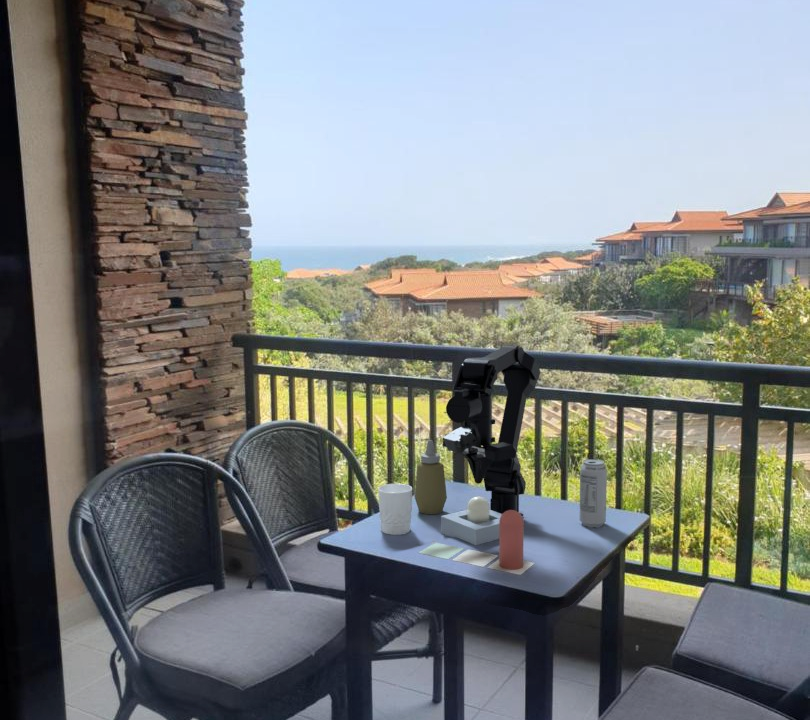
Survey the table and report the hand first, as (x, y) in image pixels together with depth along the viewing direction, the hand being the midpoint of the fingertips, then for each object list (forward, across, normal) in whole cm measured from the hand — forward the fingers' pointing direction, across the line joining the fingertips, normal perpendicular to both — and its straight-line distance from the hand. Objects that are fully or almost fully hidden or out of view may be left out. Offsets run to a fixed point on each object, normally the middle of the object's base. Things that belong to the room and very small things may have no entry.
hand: (478, 483), depth 179 cm
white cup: (+12, -14, -13) cm, 23 cm away
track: (+12, +12, -11) cm, 20 cm away
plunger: (+9, 0, 0) cm, 9 cm away
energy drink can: (+12, +11, +26) cm, 31 cm away
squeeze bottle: (+12, -20, +2) cm, 24 cm away
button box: (+12, 0, 0) cm, 12 cm away
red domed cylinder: (+11, +19, -8) cm, 24 cm away
